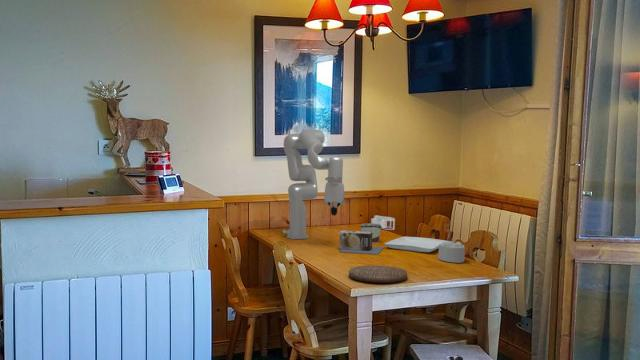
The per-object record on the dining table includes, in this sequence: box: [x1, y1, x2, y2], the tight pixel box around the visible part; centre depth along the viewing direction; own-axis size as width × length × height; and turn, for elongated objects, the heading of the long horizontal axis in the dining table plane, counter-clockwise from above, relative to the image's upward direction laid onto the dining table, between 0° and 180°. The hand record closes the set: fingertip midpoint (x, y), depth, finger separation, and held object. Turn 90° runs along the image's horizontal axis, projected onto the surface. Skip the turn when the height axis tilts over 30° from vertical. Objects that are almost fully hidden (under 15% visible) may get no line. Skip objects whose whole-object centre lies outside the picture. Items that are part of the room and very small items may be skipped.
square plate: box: [384, 236, 449, 253], centre depth 333 cm, size 27×27×4 cm
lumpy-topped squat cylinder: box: [438, 240, 466, 264], centre depth 301 cm, size 10×13×9 cm
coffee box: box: [339, 229, 373, 251], centre depth 323 cm, size 9×6×16 cm
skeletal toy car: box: [370, 215, 396, 231], centre depth 400 cm, size 20×11×7 cm, turn 19°
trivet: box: [348, 264, 408, 284], centre depth 266 cm, size 25×25×2 cm
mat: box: [338, 245, 385, 256], centre depth 323 cm, size 20×20×1 cm
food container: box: [359, 222, 383, 244], centre depth 349 cm, size 12×6×10 cm, turn 84°
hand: (333, 215), depth 326 cm, fingers closed
